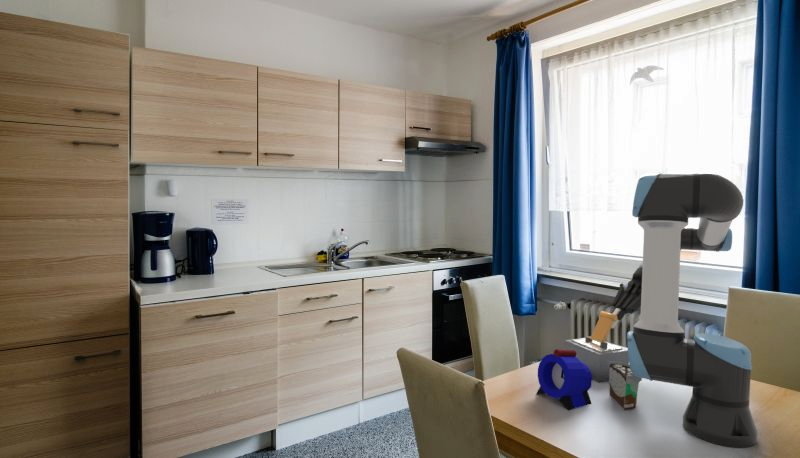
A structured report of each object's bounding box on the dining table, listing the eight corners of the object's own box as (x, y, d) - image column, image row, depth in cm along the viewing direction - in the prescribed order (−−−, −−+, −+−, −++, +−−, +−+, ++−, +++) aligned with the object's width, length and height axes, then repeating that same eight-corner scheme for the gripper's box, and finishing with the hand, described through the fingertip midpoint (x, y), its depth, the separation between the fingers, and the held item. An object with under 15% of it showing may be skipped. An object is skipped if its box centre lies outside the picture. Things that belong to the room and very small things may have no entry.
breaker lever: (592, 340, 160) (605, 312, 161) (605, 345, 155) (618, 316, 156) (588, 337, 159) (601, 310, 160) (600, 342, 154) (613, 313, 155)
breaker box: (592, 361, 167) (593, 331, 166) (628, 377, 152) (629, 344, 151) (564, 365, 163) (565, 335, 162) (598, 382, 148) (599, 348, 147)
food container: (649, 412, 127) (650, 376, 127) (626, 412, 127) (627, 376, 127) (628, 394, 140) (629, 360, 139) (607, 393, 140) (608, 360, 139)
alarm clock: (534, 394, 139) (535, 344, 138) (564, 387, 145) (565, 339, 144) (566, 411, 128) (567, 357, 127) (597, 402, 134) (599, 350, 133)
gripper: (670, 283, 158) (630, 337, 154) (638, 277, 170) (600, 327, 166) (659, 268, 156) (618, 323, 151) (627, 263, 168) (589, 314, 164)
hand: (609, 325), depth 159 cm, fingers closed
